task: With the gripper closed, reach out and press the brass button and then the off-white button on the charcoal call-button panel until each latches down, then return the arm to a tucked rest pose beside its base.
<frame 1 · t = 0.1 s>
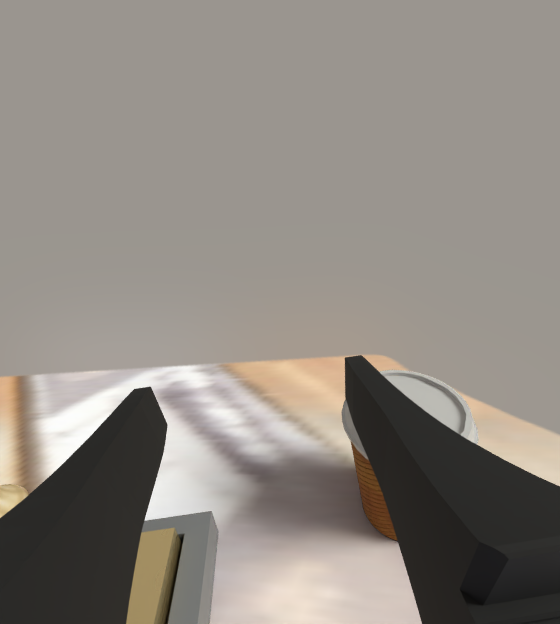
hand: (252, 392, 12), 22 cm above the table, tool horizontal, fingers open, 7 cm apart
disposable coffee cup: (397, 506, 28), on the table
brass button: (125, 593, 22), point 3 cm above the table, slide at 0.0 cm
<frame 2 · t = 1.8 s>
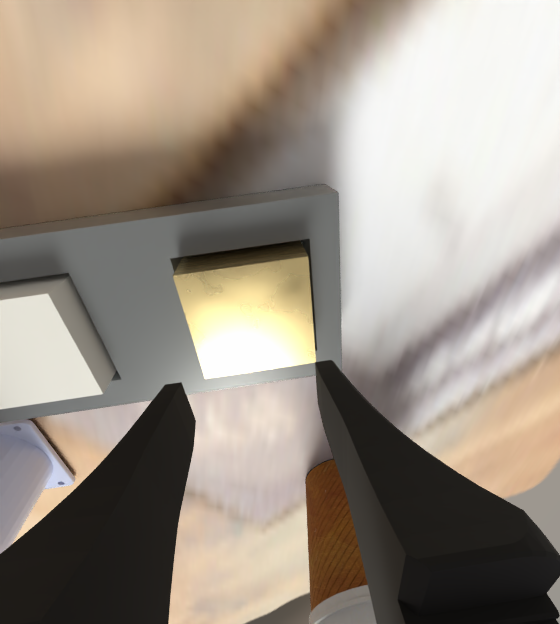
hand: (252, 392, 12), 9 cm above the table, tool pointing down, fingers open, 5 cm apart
disposable coffee cup: (336, 475, 31), on the table
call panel: (157, 300, 20), on the table
white button: (33, 340, 17), point 3 cm above the table, slide at 0.0 cm
brass button: (251, 309, 17), point 3 cm above the table, slide at 0.0 cm
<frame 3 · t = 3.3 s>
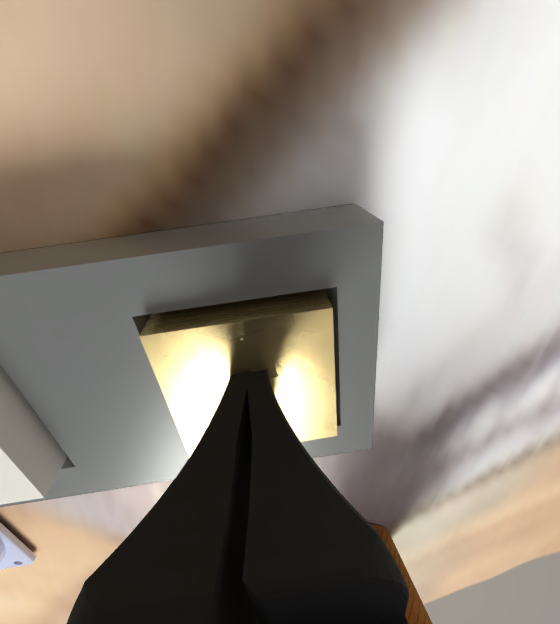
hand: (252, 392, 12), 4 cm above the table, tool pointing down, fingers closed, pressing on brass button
disposable coffee cup: (352, 540, 26), on the table
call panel: (126, 355, 15), on the table
brass button: (251, 367, 13), point 2 cm above the table, slide at 0.7 cm, touching gripper
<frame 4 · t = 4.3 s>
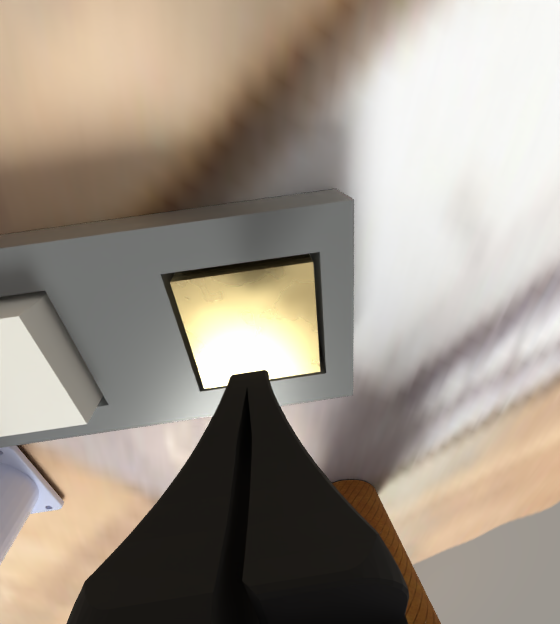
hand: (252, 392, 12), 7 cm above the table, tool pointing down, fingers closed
disposable coffee cup: (342, 497, 29), on the table
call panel: (149, 316, 18), on the table
white button: (8, 364, 15), point 3 cm above the table, slide at 0.0 cm
brass button: (252, 316, 16), point 2 cm above the table, slide at 1.3 cm
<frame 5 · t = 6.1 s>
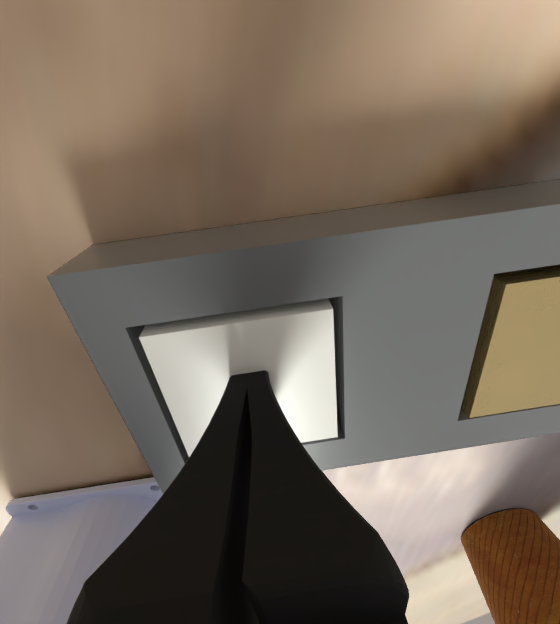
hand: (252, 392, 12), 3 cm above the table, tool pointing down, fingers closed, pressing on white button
disposable coffee cup: (496, 526, 26), on the table
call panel: (379, 326, 14), on the table
white button: (251, 368, 13), point 2 cm above the table, slide at 1.4 cm, touching gripper
brass button: (534, 326, 13), point 2 cm above the table, slide at 1.3 cm
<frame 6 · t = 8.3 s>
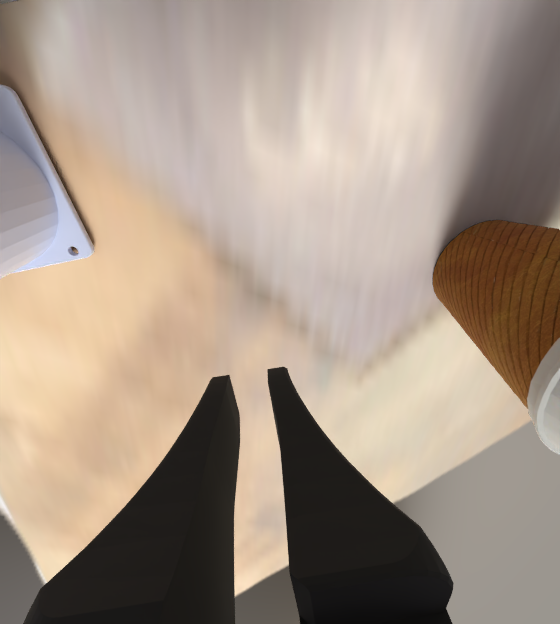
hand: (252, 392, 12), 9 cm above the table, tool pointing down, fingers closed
disposable coffee cup: (476, 266, 21), on the table
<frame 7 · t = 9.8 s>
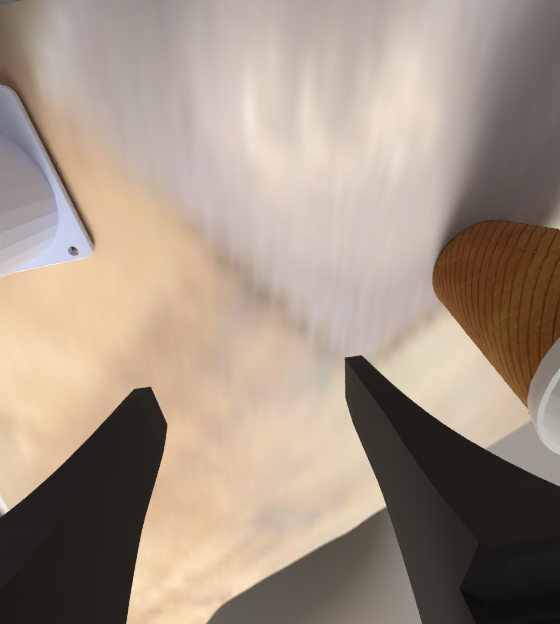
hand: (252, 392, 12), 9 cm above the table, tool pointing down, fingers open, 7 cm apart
disposable coffee cup: (476, 266, 21), on the table
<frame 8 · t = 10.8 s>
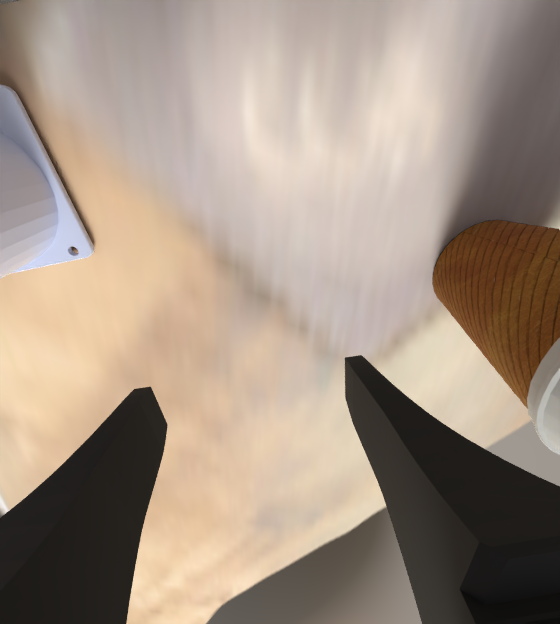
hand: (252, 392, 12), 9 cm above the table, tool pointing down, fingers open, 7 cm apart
disposable coffee cup: (476, 266, 21), on the table
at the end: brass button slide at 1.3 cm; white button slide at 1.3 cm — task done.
